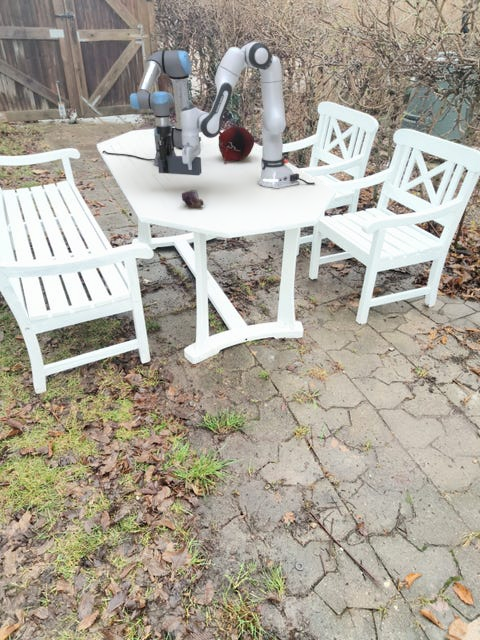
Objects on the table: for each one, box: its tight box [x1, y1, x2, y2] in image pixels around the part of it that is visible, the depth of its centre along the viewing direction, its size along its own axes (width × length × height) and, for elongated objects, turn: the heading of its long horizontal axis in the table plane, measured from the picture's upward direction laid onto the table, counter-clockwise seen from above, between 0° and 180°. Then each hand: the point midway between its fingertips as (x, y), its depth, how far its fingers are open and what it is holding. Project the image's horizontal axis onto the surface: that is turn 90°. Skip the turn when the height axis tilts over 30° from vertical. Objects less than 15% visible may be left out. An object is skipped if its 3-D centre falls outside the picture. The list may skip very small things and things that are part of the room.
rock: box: [181, 189, 205, 208], centre depth 227 cm, size 12×9×10 cm
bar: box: [157, 155, 203, 176], centre depth 241 cm, size 23×5×8 cm, turn 77°
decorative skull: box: [218, 125, 255, 165], centre depth 297 cm, size 21×24×25 cm
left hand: (167, 170), depth 245 cm, fingers closed on bar, 5 cm apart
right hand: (192, 167), depth 241 cm, fingers closed on bar, 5 cm apart
